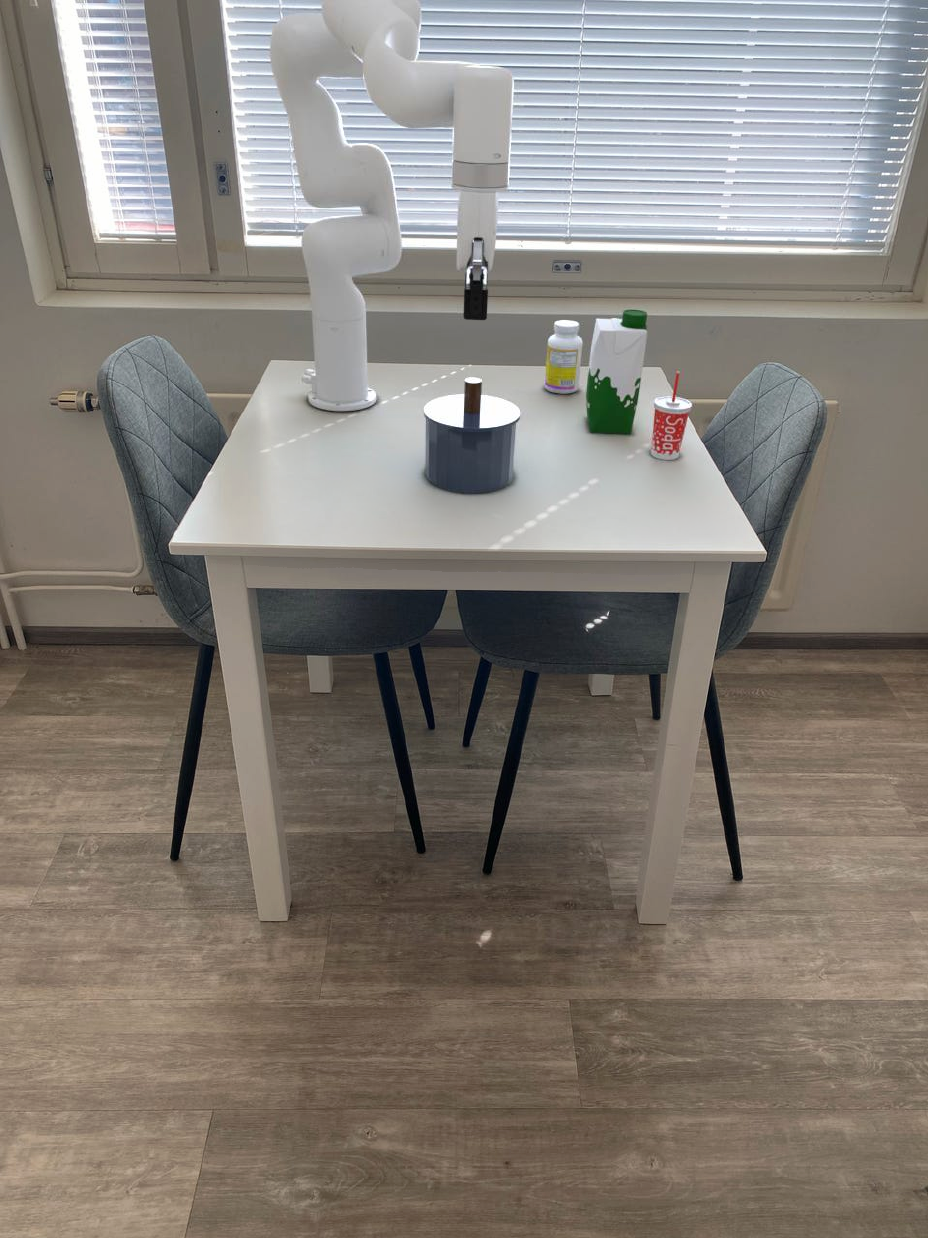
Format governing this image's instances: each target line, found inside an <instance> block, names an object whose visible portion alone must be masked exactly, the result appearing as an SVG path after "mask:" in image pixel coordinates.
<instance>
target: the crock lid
mask: <svg viewBox="0 0 928 1238" xmlns="http://www.w3.org/2000/svg"><path fill="white" fill-rule="evenodd" d="M463 383H464V385H463V394H451V395H450V394H449V395H446V396H440V397H437V398H435V399H432V400H431V401H429V402H427V403H425V405H424V406H423V417H424V418H425V420H426V419H427V420H428V421H430V422H431V423H433V424H435V425H437V426H440V427H443V428H447V429H451V430H457V431H465V432H487V431H496V430H501V429H505V428H508V427H510V426H512V425H514V424H516V425H517V423H518V422H519V421H520V419H521V410H520V408H519V407H518V406H517V405H516V404H514V403H513V402H511V401H508V400H506V399H504V398H500V397H496V396H491V395H485V394H482V393H483V379H481V378H478V377H466V378H465V379H464V381H463Z"/></svg>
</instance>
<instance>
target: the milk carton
mask: <svg viewBox="0 0 928 1238" xmlns="http://www.w3.org/2000/svg"><path fill="white" fill-rule="evenodd" d="M647 319H648V312H646V311H644V310H639V309H626V310H623V312H622V317H621V318H617V317H616V318H615V317H611V318H596V319H595V324H594V329H593V335H592V338H591V339H592V341H591V345H590V354H589V362H588V371H587V382H586V391H585V405H586V406H585V407H586V419H587V423H588V427H589V430H590V433H591V434H593V433H596V434H619V435H620V434H621V435H631V434H632V430H633V426H634V422H635V416H636V414H637V413H636V412H637V408H638V403H639V397H640V396H639V395H640V389H641V384H642V383H641V382H642V380H641V379H642V377H643V376H642V374H643V367H644V362H645V361H644V360H645V354H646V347H647V346H646V345H647V339H648V338H647V337H648V329H647V328H648V327H647Z"/></svg>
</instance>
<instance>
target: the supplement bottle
mask: <svg viewBox="0 0 928 1238" xmlns="http://www.w3.org/2000/svg"><path fill="white" fill-rule="evenodd" d="M553 330H554V334H552V335H551V336H549V338H548V340H547V347H546V348H547V349H546V350H547V351H546V362H545V375H544V388H545V389H546V390H547V391H548V392H551V393H554V394H559V395H568V394H572V393H575V392H577V391H578V389H579V383H580V374H581V364H582V353H583V340H582V337H580V336H579V335H578V332H579V331H580V323H579V322H577V321H575V320H567V319H561V320H556V321H554V324H553Z"/></svg>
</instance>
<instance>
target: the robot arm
mask: <svg viewBox="0 0 928 1238" xmlns="http://www.w3.org/2000/svg"><path fill="white" fill-rule="evenodd" d="M422 14H423V13H422V8H421V3H420V1H419V0H322V1H321V12H299V13H292V14H289V15H285V16H283V17H281V18H280V19H279V20H278V21H277V22H276V23H275V25H274V26H273V28H272V31H271V36H270V41H269V60H270V65H271V71H272V75H273V79H274V83H275V85H276V88H277V91H278V93H279V96H280V99H281V101H282V104H283V106H284V109H285V112H286V115H287V118H288V123H289V129H290V135H291V141H292V146H293V153H294V158H295V164H296V170H297V175H298V181H299V185H300V190H301V193H302V196H303V198H304V200H305V202H306V203H307V204H308V205H309V206H311V207H314V208H317V209H337V208H339V209H340V208H353V207H359V208H360V210H361V214H355V215H354V214H353V215H352V214H351V215H350V214H349V215H337V216H327V217H322V218H319V219H315V220H313V221H312V222H310V223H309V224H308V225H307V226H305V228H304V230H303V232H302V236H301V251H302V257H303V260H304V266H305V269H306V274H307V279H308V280H307V281H308V286H309V294H310V305H311V306H310V307H311V308H310V309H311V322H312V323H311V325H312V339H313V342H312V343H313V356H314V358H313V359H314V369H311V368H307V369H305V372H304V374H303V375H302V376H301V382H302V383H304V384H309V385H311V390H310V391H309V392H308V394H307V395H308V400H307V401H308V403H309V404H310V405H312V407H315V408H317V409H320V410H324V411H330V412H355V411H360V410H364V409H367V408H369V407H372V406H373V405H374V404H375V403H376V402H377V393H376V391H375V390H374V389H372V388H370V387H369V379H368V378H369V377H368V341H367V338H368V337H367V310H366V302H365V298H364V296H363V294H362V293H361V291H360V290H359V288H358V286H357V285H356V284H355V283H354V281H353V277H357V276H362V275H370V274H379V273H385V272H389V271H391V270H393V269H395V268H396V267H397V266H398V265H399V263H400V261H401V258H402V252H403V239H402V230H401V225H400V224H401V223H400V216H399V209H398V201H397V200H398V199H397V195H396V194H397V193H396V187H395V180H394V174H393V171H392V167H391V164H390V161H389V159H388V157H387V155H386V154H385V153H384V151H383V150H382V149H381V148H380V147H378V146H377V145H375V144H370V143H348V142H347V140H346V138H345V132H344V129H343V127H344V125H343V119H342V116H341V111H340V109H339V107H338V105H337V103H336V102H335V100H334V98H333V97H332V95H331V94H330V93H329V91H328V90H327V89H326V88H325V87H324V86H323V85H322V84H321V82H319V79H356V80H357V79H359V80H361V79H363V82H364V86H365V90H366V92H367V95H368V98H369V99H370V101H371V102H372V104H373V106H375V107H376V108H377V109H378V110H379V111H380V112H381V113H382V114H383V115H384V116H385V117H386V118H388V119H389V120H390V121H392V122H394V124H396V125H398V126H401V127H404V128H408V129H433V128H434V129H435V128H436V129H439V128H444V129H452V146H451V147H452V148H451V151H452V154H451V159H452V160H451V189H453V190H456V191H459V193H458V203H457V220H456V221H457V225H456V229H457V230H456V265H455V267H456V270H457V271H459V272H461V271H462V269H466V270H465V271H466V272H465V273H464V288H463V319H464V320H465V321H469V320H470V321H487V318H488V303H489V302H488V301H489V299H488V298H489V288H488V277H489V276H488V275H489V274H488V273H489V272H491V271H492V269H493V263H494V259H495V258H494V257H495V251H496V241H497V232H498V231H497V230H498V219H499V217H498V216H499V199H500V198H499V197H500V193H504V192H506V191H507V192H508V191H509V184H510V181H509V180H510V164H511V147H512V145H511V144H512V131H513V130H512V127H513V110H514V89H515V81H514V80H515V79H514V76H513V74H512V72H511V71H510V69H508V68H506V67H502V66H492V65H491V66H490V65H479V64H476V63H473V62H468V61H467V62H466V61H447V60H442V61H441V60H417V59H418V57H419V52H420V46H421V36H420V31H421V27H422V19H423V15H422Z"/></svg>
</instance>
